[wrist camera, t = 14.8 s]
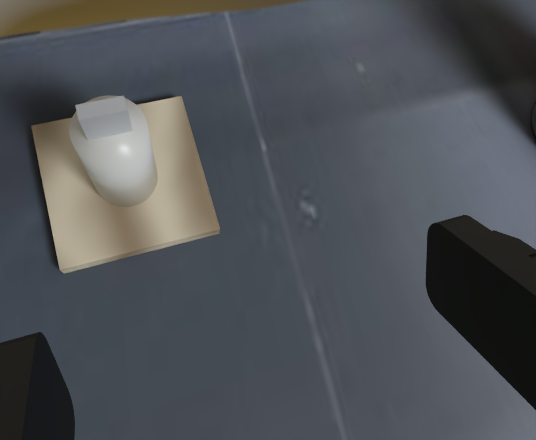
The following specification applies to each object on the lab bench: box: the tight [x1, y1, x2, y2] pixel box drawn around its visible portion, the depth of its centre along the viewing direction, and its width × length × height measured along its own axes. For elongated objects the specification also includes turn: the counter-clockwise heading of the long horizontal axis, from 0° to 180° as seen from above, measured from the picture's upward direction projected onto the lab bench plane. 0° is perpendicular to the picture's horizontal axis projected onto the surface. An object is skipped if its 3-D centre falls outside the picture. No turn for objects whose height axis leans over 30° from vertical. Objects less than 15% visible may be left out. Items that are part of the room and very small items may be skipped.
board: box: [31, 96, 220, 273], centre depth 40 cm, size 12×12×1 cm
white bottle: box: [69, 96, 158, 207], centre depth 35 cm, size 5×5×11 cm
